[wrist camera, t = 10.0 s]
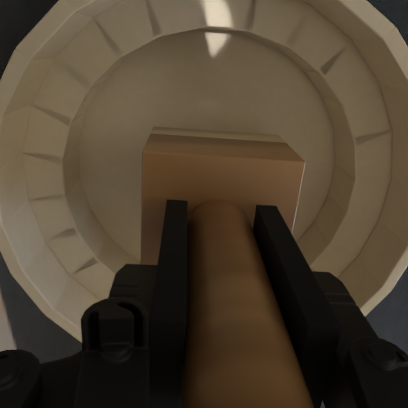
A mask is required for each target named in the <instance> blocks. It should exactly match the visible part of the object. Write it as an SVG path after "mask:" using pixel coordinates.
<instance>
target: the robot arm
mask: <svg viewBox="0 0 408 408" xmlns="http://www.w3.org/2000/svg"><path fill="white" fill-rule="evenodd" d="M187 204H188V201H185V200H168V199H167V202H166V209H165V216H164V223H163V230H162V237H161V244H160V251H159V258H158V265H142V264H125V265H124V266H123V267H122V268H121V269H120V270H119V271H118V272H117V273H116V274H115V277H114V280H113V283H112V287H111V289H110V293H109V297H108V299H103V300H101V301H99V302H96V303H94V304H92V305H91V306H90V307H89V308H88V309H86V310H85V312H84V314H83V316H82V318H81V334H82V351H80V352H78V353H76V354H74V355H72V356H70V357H67V358H63V359H60V360H55V361H51V362H46V363H42V364H39V360H38V359H37V358H36V357H35V356H34V355H33V354H32V353H30V352H27V351H23V350H5V351H1V352H0V408H180V400H181V370H182V365H183V359H184V346H185V332H186V303H187ZM253 232H254V235H255V238H256V241H257V243H258V246H259V249H260V252H261V255H262V258H263V261H264V264H265V267H266V269H267V272H268V275H269V278H270V281H271V284H272V287H273V290H274V292H275V295H276V298H277V301H278V304H279V307H280V310H281V313H282V316H283V318H284V321H285V324H286V327H287V330H288V333H289V336H290V339H291V341H292V344H293V347H294V350H295V353H296V356H297V359H298V362H299V365H300V367H301V370H302V373H303V376H304V379H305V382H306V385H307V388H308V391H309V393H310V396H311V399H312V402H313V405H314V408H320V406H321V403H322V400H323V402H324V405H325V408H408V356H407V354H406V353H405V352H404V351H402V350H401V349H400V348H398V347H397V346H396V345H394V344H392V343H390V342H388V341H386V340H384V339H380V338H378V336H377V335H376V333H375V332H374V330H373V329H372V327H371V326H370V324H369V322H368V321H367V319H366V318H365V316H364V315H363V313H362V312H361V310H360V309H359V307H358V306H356V302H355V301H354V299H353V298H352V296H350V293H349V292H348V290H347V289H346V287H345V285H344V284H343V282H342V281H340V280H339V279H338V278H336V277H335V276H334V275H333V274H331V273H330V272H317V271H312V270H311V268H310V267H309V265H308V263H307V261H306V259H305V257H304V256H303V254H302V252H301V250H300V248H299V246H298V245H297V243H296V241H295V239H294V237H293V235H292V234H291V232H290V230H289V228H288V226H287V224H286V223H285V221H284V219H283V217H282V215H281V213H280V211H279V210H278V208H277V206H272V205H256V211H255V218H254V225H253Z"/></svg>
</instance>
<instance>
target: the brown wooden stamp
mask: <svg viewBox="0 0 408 408" xmlns="http://www.w3.org/2000/svg"><path fill="white" fill-rule="evenodd" d="M305 164H306V163H305V161H304V160H303V159H302V158H301V157H300V156H299V155H298V154H297V153H296V152H295V151H294V150H293V149H292V148H291V147H290V146H289V145H288V144H287V143H286V142H285V141H284V140H283V139H282V138H281V137H280V136H279V135H270V134H255V133H241V132H227V131H212V130H198V129H184V128H169V127H155V126H154V127H153V129H152V131H151V133H150V135H149V138H148V140H147V142H146V144H145V147H144V149H143V151H142V189H141V261H140V264H142V265H158V258H159V251H160V244H161V237H162V230H163V223H164V216H165V209H166V202H167V199H168V200H185V201H188V204H187V303H186V332H185V346H184V359H183V365H182V370H181V401H180V408H314V405H313V402H312V399H311V396H310V393H309V391H308V388H307V385H306V382H305V379H304V376H303V373H302V370H301V367H300V365H299V362H298V359H297V356H296V353H295V350H294V347H293V344H292V341H291V339H290V336H289V333H288V330H287V327H286V324H285V321H284V318H283V316H282V313H281V310H280V307H279V304H278V301H277V298H276V295H275V292H274V290H273V287H272V284H271V281H270V278H269V275H268V272H267V269H266V267H265V264H264V261H263V258H262V255H261V252H260V249H259V246H258V243H257V241H256V238H255V235H254V232H253V225H254V218H255V211H256V205H272V206H277V208H278V210H279V211H280V213H281V215H282V217H283V219H284V221H285V223H286V224H287V226H288V228H289V230H290V232H291V234H292V232H293V227H294V222H295V216H296V211H297V206H298V201H299V195H300V190H301V185H302V179H303V174H304V169H305Z"/></svg>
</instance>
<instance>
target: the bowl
mask: <svg viewBox="0 0 408 408" xmlns="http://www.w3.org/2000/svg"><path fill="white" fill-rule="evenodd" d="M154 126H155V127H169V128H184V129H198V130H212V131H227V132H241V133H255V134H270V135H279V136H280V137H281V138H282V139H283V140H284V141H285V142H286V143H287V144H288V145H289V146H290V147H291V148H292V149H293V150H294V151H295V152H296V153H297V154H298V155H299V156H300V157H301V158H302V159H303V160H304V161H305V163H306V164H305V169H304V174H303V179H302V185H301V190H300V195H299V201H298V206H297V211H296V216H295V222H294V227H293V232H292V235H293V237H294V239H295V241H296V243H297V245H298V246H299V248H300V250H301V252H302V254H303V256H304V257H305V259H306V261H307V263H308V265H309V267H310V268H311V270H312V271H317V272H330V273H331V274H333V275H334V276H335V277H336V278H338V279H339V280H340V281H342V282H343V284H344V285H345V287H346V289H347V290H348V292H349V293H350V296H352V298H353V299H354V301H355V302H356V306H358V307H359V309H360V310H361V312H362V313H363V315H364V316H366V315H367V314H368V313H369V312H370V311H371V310H372V309H373V308H374V307H376V306H377V305H378V304H379V303H380V302H381V301H382V300H383V299H384V298H385V297H386V296H387V295H388V294H389V293H390V292H391V290H392V289H393V288H394V286H395V285H396V283H397V282H398V280H399V278H400V277H401V275H402V274H403V272H404V271H405V269H406V268H407V266H408V47H407V45H406V43H405V41H404V40H403V38H402V36H401V34H400V33H399V31H398V29H397V28H396V27H395V26H394V24H392V23H391V22H390V21H389V20H388V19H387V18H386V17H385V16H384V15H382V14H381V13H380V12H379V11H378V10H377V9H376V8H375V7H374V6H372V5H371V4H370V3H369V2H368V1H367V0H58V2H57V3H56V4H55V5H54V6H53V7H52V8H51V9H50V10H49V11H48V12H47V14H46V15H45V16H44V17H43V18H42V19H41V20H40V21H39V22H38V23H37V24H36V26H35V27H34V28H33V29H32V30H31V31H30V32H29V33H28V34H27V35H26V37H25V38H24V39H23V40H22V41H21V42H20V43H19V44H18V45H17V46H16V49H15V50H14V51H13V54H12V56H11V58H10V60H9V62H8V64H7V67H6V69H5V71H4V73H3V75H2V77H1V80H0V252H1V254H2V256H3V258H4V260H5V262H6V265H7V267H8V269H9V271H10V273H11V274H12V276H13V277H14V278H15V280H16V281H17V282H18V283H19V284H20V286H21V287H22V288H23V289H24V291H25V292H26V293H27V294H28V295H29V297H30V298H31V299H32V300H33V301H34V303H35V304H36V305H37V306H38V308H39V309H40V310H41V311H42V312H43V313H44V314H45V316H47V317H48V318H49V319H51V320H52V321H53V322H55V323H56V324H57V325H59V326H60V327H61V328H63V329H64V330H65V331H67V332H68V333H69V334H71V335H72V336H73V337H75V338H76V339H77V340H79V341H80V342H81V343H82V334H81V318H82V316H83V314H84V312H85V310H86V309H88V308H89V307H90V306H91V305H92V304H94V303H96V302H99V301H101V300H103V299H108V297H109V293H110V289H111V287H112V283H113V280H114V277H115V274H116V273H117V272H118V271H119V270H120V269H121V268H122V267H123V266H124V265H125V264H140V261H141V189H142V151H143V149H144V147H145V144H146V142H147V140H148V138H149V135H150V133H151V131H152V129H153V127H154Z"/></svg>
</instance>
